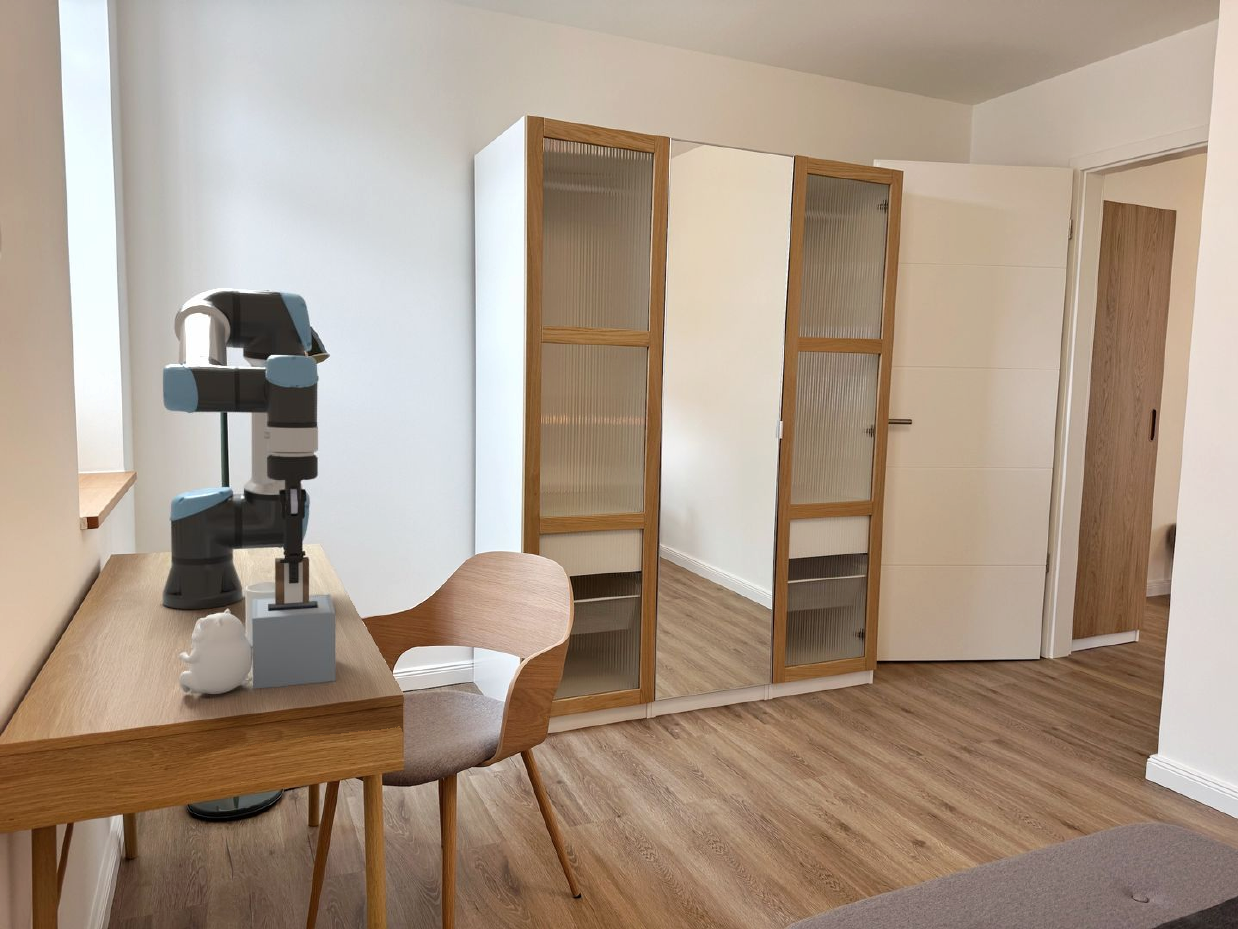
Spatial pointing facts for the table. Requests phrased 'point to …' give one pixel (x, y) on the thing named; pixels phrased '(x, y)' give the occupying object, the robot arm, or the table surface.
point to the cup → (252, 592)
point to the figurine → (217, 655)
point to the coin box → (293, 642)
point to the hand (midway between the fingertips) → (293, 599)
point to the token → (280, 582)
